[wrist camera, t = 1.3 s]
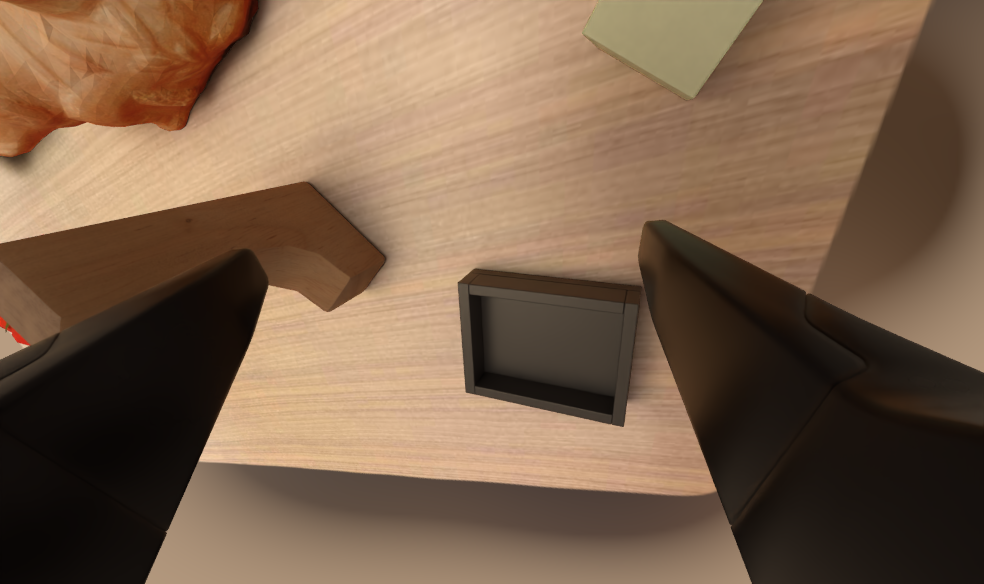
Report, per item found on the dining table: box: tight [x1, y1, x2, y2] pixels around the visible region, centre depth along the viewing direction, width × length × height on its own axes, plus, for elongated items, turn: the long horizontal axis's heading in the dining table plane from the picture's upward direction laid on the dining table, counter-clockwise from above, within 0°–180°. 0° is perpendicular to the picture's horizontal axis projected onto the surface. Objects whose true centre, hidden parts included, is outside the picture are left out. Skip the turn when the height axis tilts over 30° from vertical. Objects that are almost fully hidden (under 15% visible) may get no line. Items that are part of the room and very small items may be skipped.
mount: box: [458, 269, 641, 427], centre depth 28 cm, size 12×9×3 cm
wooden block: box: [0, 182, 385, 345], centre depth 26 cm, size 9×4×18 cm, turn 50°
